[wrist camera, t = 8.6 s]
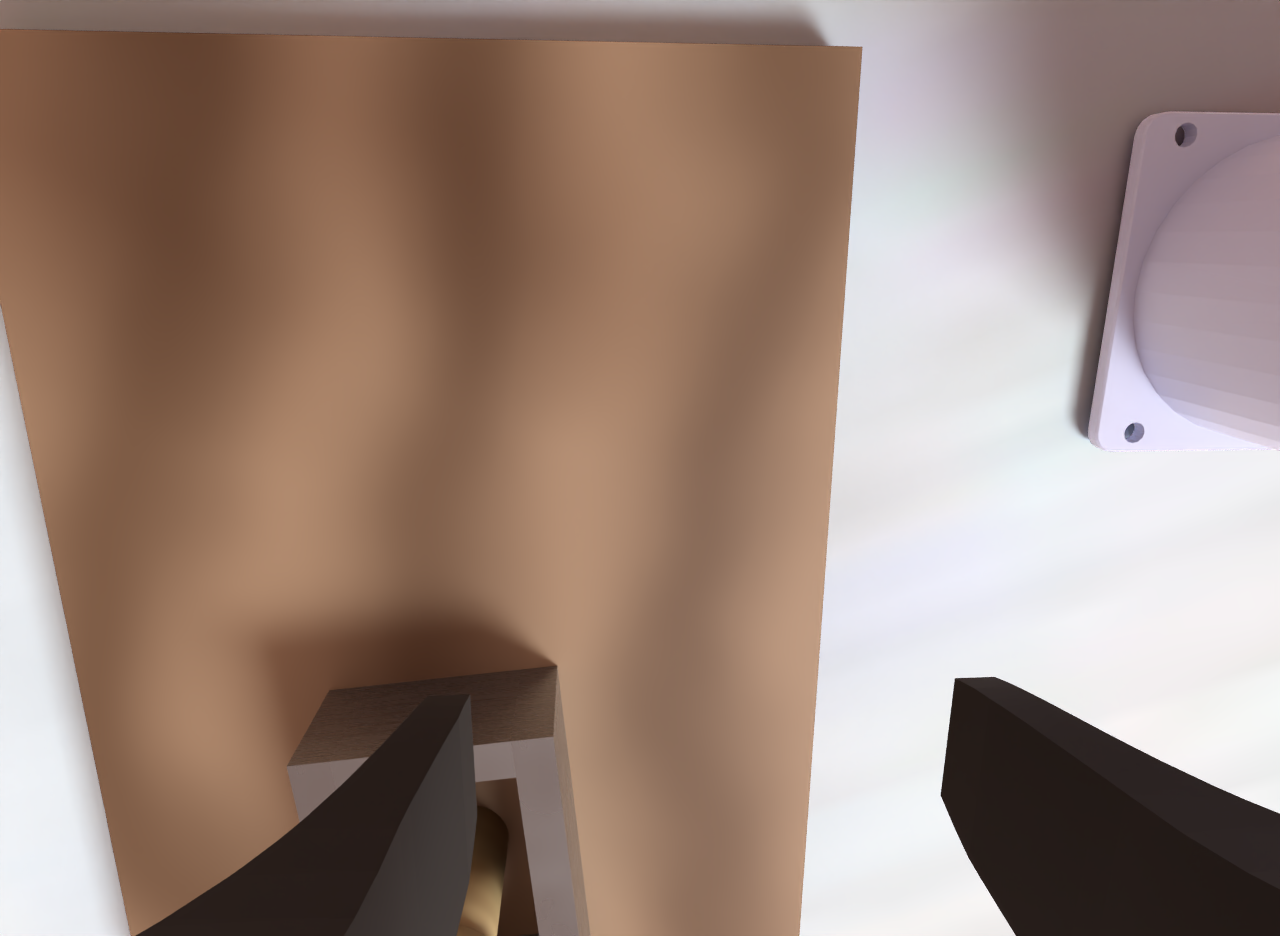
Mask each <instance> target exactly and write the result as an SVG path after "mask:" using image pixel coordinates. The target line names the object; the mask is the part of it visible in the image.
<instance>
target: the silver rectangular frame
mask: <svg viewBox="0 0 1280 936" xmlns="http://www.w3.org/2000/svg"><path fill="white" fill-rule="evenodd" d="M466 694H470V700H471V717H472V734H473V751H474V768H475V782H481V781H490V780H499V779H508V778H516V780H517V787H518V794H519V801H520V807H521V814H522V821H523V828H524V835H525V842H526V849H527V856H528V862H529V869H530V876H531V883H532V890H533V897H534V904H535V911H536V917H537V924H538V931H539V933H537V934H529V935H521V936H591V934H590V926H589V918H588V909H587V901H586V893H585V885H584V877H583V869H582V861H581V853H580V845H579V837H578V828H577V820H576V812H575V804H574V796H573V788H572V780H571V772H570V764H569V756H568V747H567V739H566V731H565V723H564V715H563V707H562V699H561V691H560V683H559V675H558V666H548V667H539V668H530V669H520V670H511V671H502V672H493V673H483V674H474V675H465V676H456V677H446V678H437V679H428V680H419V681H409V682H400V683H391V684H382V685H372V686H363V687H354V688H345V689H336V690H329V692H328V693H327V695H326V697H325V699H324V701H323V702H322V704H321V706H320V708H319V709H318V711H317V713H316V715H315V717H314V718H313V720H312V722H311V724H310V725H309V727H308V729H307V731H306V733H305V734H304V736H303V738H302V740H301V742H300V743H299V745H298V747H297V749H296V750H295V752H294V754H293V756H292V758H291V759H290V761H289V763H288V765H287V771H288V775H289V779H290V783H291V788H292V792H293V796H294V800H295V805H296V809H297V813H298V817H299V822H301V821H302V820H303V819H304V818H306V817H307V816H308V815H309V814H310V813H311V812H312V811H313V810H314V809H316V808H317V807H318V806H319V805H320V804H321V803H322V802H323V801H324V800H325V799H327V798H328V797H329V796H330V795H331V794H332V793H333V792H334V791H335V790H336V789H337V788H339V787H340V786H341V785H342V784H343V783H344V782H345V781H346V780H347V779H348V778H349V777H350V776H351V775H352V774H353V773H354V772H355V771H356V770H357V769H358V768H359V767H360V766H361V765H362V764H363V763H364V762H365V761H366V760H367V759H368V758H369V757H370V756H371V755H372V754H373V753H374V752H375V751H376V750H377V749H378V748H379V746H380V745H381V744H382V743H383V742H384V741H385V740H386V739H387V738H388V737H389V736H390V735H391V734H392V733H393V732H394V730H395V729H396V728H397V727H398V726H399V725H400V724H401V723H402V722H403V721H404V720H405V719H406V717H407V716H408V715H409V714H410V713H411V712H412V711H413V710H414V709H415V708H416V707H417V706H418V705H419V704H420V703H421V702H422V701H423V700H424V699H425V698H426V697H427V696H436V695H466Z"/></svg>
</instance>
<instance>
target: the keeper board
mask: <svg viewBox="0 0 1280 936" xmlns="http://www.w3.org/2000/svg"><path fill="white" fill-rule="evenodd" d="M861 59H862V47H848V46H799V45H751V44H702V43H653V42H604V41H556V40H507V39H458V38H410V37H361V36H312V35H264V34H215V33H166V32H117V31H69V30H20V29H0V303H1V308H2V313H3V318H4V323H5V328H6V332H7V337H8V342H9V347H10V352H11V357H12V362H13V366H14V371H15V376H16V381H17V386H18V391H19V396H20V400H21V405H22V410H23V415H24V420H25V425H26V430H27V434H28V439H29V444H30V449H31V454H32V459H33V464H34V468H35V473H36V478H37V483H38V488H39V493H40V498H41V502H42V507H43V512H44V517H45V522H46V527H47V531H48V536H49V541H50V546H51V551H52V556H53V561H54V565H55V570H56V575H57V580H58V585H59V590H60V595H61V599H62V604H63V609H64V614H65V619H66V624H67V629H68V633H69V638H70V643H71V648H72V653H73V658H74V663H75V667H76V672H77V677H78V682H79V687H80V692H81V697H82V701H83V706H84V711H85V716H86V721H87V726H88V731H89V735H90V740H91V745H92V750H93V755H94V760H95V764H96V769H97V774H98V779H99V784H100V789H101V794H102V798H103V803H104V808H105V813H106V818H107V823H108V828H109V832H110V837H111V842H112V847H113V852H114V857H115V862H116V866H117V871H118V876H119V881H120V886H121V891H122V896H123V900H124V905H125V910H126V915H127V920H128V925H129V930H130V934H131V936H136V935H137V934H139V933H141V932H143V931H144V930H146V929H148V928H149V927H151V926H153V925H155V924H156V923H158V922H160V921H161V920H163V919H164V918H166V917H167V916H169V915H171V914H172V913H174V912H175V911H177V910H178V909H180V908H181V907H183V906H184V905H186V904H187V903H189V902H191V901H192V900H194V899H195V898H197V897H198V896H200V895H201V894H203V893H204V892H206V891H207V890H209V889H211V888H212V887H214V886H215V885H217V884H218V883H220V882H221V881H223V880H224V879H226V878H227V877H229V876H230V875H232V874H233V873H235V872H236V871H237V870H239V869H240V868H242V867H243V866H244V865H246V864H247V863H248V862H250V861H251V860H252V859H254V858H255V857H256V856H258V855H259V854H260V853H262V852H263V851H264V850H266V849H267V848H268V847H270V846H271V845H272V844H274V843H275V842H276V841H278V840H279V839H280V838H281V837H283V836H284V835H285V834H286V833H288V832H289V831H290V830H291V829H293V828H294V827H295V826H296V825H297V824H298V823H300V822H299V817H298V813H297V809H296V805H295V800H294V796H293V792H292V788H291V783H290V779H289V775H288V771H287V765H288V763H289V761H290V759H291V758H292V756H293V754H294V752H295V750H296V749H297V747H298V745H299V743H300V742H301V740H302V738H303V736H304V734H305V733H306V731H307V729H308V727H309V725H310V724H311V722H312V720H313V718H314V717H315V715H316V713H317V711H318V709H319V708H320V706H321V704H322V702H323V701H324V699H325V697H326V695H327V693H328V692H329V690H336V689H345V688H354V687H363V686H372V685H382V684H391V683H400V682H409V681H419V680H428V679H437V678H446V677H456V676H465V675H474V674H483V673H493V672H502V671H511V670H520V669H530V668H539V667H548V666H558V675H559V683H560V691H561V699H562V707H563V715H564V723H565V731H566V739H567V747H568V756H569V764H570V772H571V780H572V788H573V796H574V804H575V812H576V820H577V828H578V837H579V845H580V853H581V861H582V869H583V877H584V885H585V893H586V901H587V909H588V918H589V926H590V934H591V936H799V932H800V918H801V904H802V890H803V876H804V862H805V848H806V834H807V819H808V805H809V791H810V777H811V763H812V749H813V735H814V721H815V707H816V693H817V679H818V664H819V650H820V636H821V622H822V608H823V594H824V580H825V566H826V552H827V538H828V524H829V509H830V495H831V481H832V467H833V453H834V439H835V425H836V411H837V397H838V383H839V369H840V354H841V340H842V326H843V312H844V298H845V284H846V270H847V256H848V242H849V228H850V214H851V199H852V185H853V171H854V157H855V143H856V129H857V115H858V101H859V87H860V73H861ZM475 784H476V801H477V822H476V831H475V840H474V848H473V856H472V864H471V872H470V880H469V885H468V890H467V894H466V898H465V902H464V907H463V911H462V915H461V919H460V923H459V927H458V932H457V936H521V935H529V934H537V933H539V931H538V924H537V917H536V911H535V904H534V897H533V890H532V883H531V876H530V869H529V862H528V856H527V849H526V842H525V835H524V828H523V821H522V814H521V807H520V801H519V794H518V787H517V780H516V778H508V779H499V780H490V781H481V782H475Z"/></svg>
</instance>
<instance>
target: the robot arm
mask: <svg viewBox="0 0 1280 936" xmlns="http://www.w3.org/2000/svg"><path fill="white" fill-rule="evenodd" d="M1180 126H1181V127H1182V128H1183V130H1184V131H1185V138H1184V141H1183V143H1182V144H1181V145H1180V146H1178V144H1177V143H1176V141H1175V134H1176V131H1177V129H1178V128H1179V127H1180ZM1132 423H1133V424H1134V431H1133V433H1132V435H1131V436H1130V437H1128V438H1126V439H1125V436H1124V432H1125V430H1126V428H1127V427H1128V426H1129V425H1130V424H1132ZM1088 438H1089V440H1090V442H1091V443H1092V444H1093V445H1094V446H1096V447H1097V448H1099V449H1102V450H1105V451H1110V452H1127V451H1198V450H1270V449H1275V450H1278V451H1280V113H1238V112H1173V111H1167V112H1162V113H1158V114H1153V115H1150V116H1148V117H1147V118H1145V119H1144V120H1143V121H1142V122H1141V123H1140V125H1139V126H1138V127H1137V130H1136V133H1135V136H1134V142H1133V149H1132V155H1131V161H1130V168H1129V174H1128V180H1127V187H1126V193H1125V199H1124V206H1123V212H1122V218H1121V225H1120V231H1119V237H1118V244H1117V250H1116V256H1115V263H1114V269H1113V275H1112V282H1111V288H1110V294H1109V301H1108V307H1107V313H1106V320H1105V326H1104V333H1103V339H1102V345H1101V352H1100V358H1099V364H1098V371H1097V377H1096V383H1095V390H1094V396H1093V402H1092V409H1091V415H1090V421H1089V428H1088ZM941 797H942V799H943V802H944V804H945V806H946V809H947V811H948V813H949V816H950V818H951V820H952V823H953V825H954V827H955V830H956V832H957V834H958V836H959V838H960V840H961V843H962V845H963V847H964V849H965V851H966V853H967V855H968V858H969V859H970V861H971V863H972V864H973V866H974V868H975V870H976V871H977V873H978V875H979V876H980V878H981V880H982V881H983V883H984V884H985V886H986V888H987V889H988V891H989V893H990V894H991V896H992V898H993V899H994V901H995V903H996V904H997V906H998V907H999V909H1000V911H1001V912H1002V914H1003V916H1004V917H1005V919H1006V920H1007V922H1008V924H1009V925H1010V927H1011V928H1012V930H1013V932H1014V933H1015V935H1016V936H1280V814H1279V813H1277V812H1274V811H1272V810H1269V809H1267V808H1264V807H1262V806H1259V805H1257V804H1254V803H1252V802H1250V801H1247V800H1245V799H1242V798H1240V797H1238V796H1235V795H1233V794H1231V793H1228V792H1226V791H1224V790H1222V789H1219V788H1217V787H1215V786H1213V785H1210V784H1208V783H1206V782H1204V781H1202V780H1200V779H1198V778H1196V777H1194V776H1191V775H1189V774H1187V773H1185V772H1183V771H1181V770H1179V769H1177V768H1175V767H1172V766H1170V765H1168V764H1166V763H1164V762H1162V761H1160V760H1158V759H1156V758H1154V757H1152V756H1150V755H1148V754H1146V753H1144V752H1142V751H1140V750H1138V749H1136V748H1134V747H1132V746H1130V745H1128V744H1126V743H1124V742H1122V741H1120V740H1119V739H1117V738H1115V737H1113V736H1111V735H1109V734H1107V733H1105V732H1103V731H1101V730H1099V729H1098V728H1096V727H1094V726H1092V725H1090V724H1088V723H1086V722H1084V721H1082V720H1081V719H1079V718H1077V717H1075V716H1073V715H1071V714H1069V713H1067V712H1065V711H1064V710H1062V709H1060V708H1058V707H1056V706H1054V705H1052V704H1050V703H1048V702H1047V701H1045V700H1043V699H1041V698H1039V697H1037V696H1035V695H1033V694H1031V693H1029V692H1027V691H1025V690H1023V689H1021V688H1019V687H1017V686H1015V685H1012V684H1010V683H1008V682H1006V681H1003V680H1001V679H998V678H996V677H981V678H955V683H954V691H953V699H952V707H951V715H950V724H949V732H948V740H947V748H946V756H945V764H944V773H943V781H942V789H941ZM476 822H477V801H476V784H475V768H474V751H473V734H472V717H471V700H470V694H466V695H436V696H427V697H426V698H425V699H424V700H423V701H422V702H421V703H420V704H419V705H418V706H417V707H416V708H415V709H414V710H413V711H412V712H411V713H410V714H409V715H408V716H407V717H406V719H405V720H404V721H403V722H402V723H401V724H400V725H399V726H398V727H397V728H396V729H395V730H394V732H393V733H392V734H391V735H390V736H389V737H388V738H387V739H386V740H385V741H384V742H383V743H382V744H381V745H380V746H379V748H378V749H377V750H376V751H375V752H374V753H373V754H372V755H371V756H370V757H369V758H368V759H367V760H366V761H365V762H364V763H363V764H362V765H361V766H360V767H359V768H358V769H357V770H356V771H355V772H354V773H353V774H352V775H351V776H350V777H349V778H348V779H347V780H346V781H345V782H344V783H343V784H342V785H341V786H340V787H339V788H337V789H336V790H335V791H334V792H333V793H332V794H331V795H330V796H329V797H328V798H327V799H325V800H324V801H323V802H322V803H321V804H320V805H319V806H318V807H317V808H316V809H314V810H313V811H312V812H311V813H310V814H309V815H308V816H307V817H306V818H304V819H303V820H302V821H301V822H300V823H298V824H297V825H296V826H295V827H294V828H293V829H291V830H290V831H289V832H288V833H286V834H285V835H284V836H283V837H281V838H280V839H279V840H278V841H276V842H275V843H274V844H272V845H271V846H270V847H268V848H267V849H266V850H264V851H263V852H262V853H260V854H259V855H258V856H256V857H255V858H254V859H252V860H251V861H250V862H248V863H247V864H246V865H244V866H243V867H242V868H240V869H239V870H237V871H236V872H235V873H233V874H232V875H230V876H229V877H227V878H226V879H224V880H223V881H221V882H220V883H218V884H217V885H215V886H214V887H212V888H211V889H209V890H207V891H206V892H204V893H203V894H201V895H200V896H198V897H197V898H195V899H194V900H192V901H191V902H189V903H187V904H186V905H184V906H183V907H181V908H180V909H178V910H177V911H175V912H174V913H172V914H171V915H169V916H167V917H166V918H164V919H163V920H161V921H160V922H158V923H156V924H155V925H153V926H151V927H149V928H148V929H146V930H144V931H143V932H141V933H139V934H137V935H136V936H457V932H458V927H459V923H460V919H461V915H462V911H463V907H464V902H465V898H466V894H467V890H468V885H469V880H470V872H471V864H472V856H473V848H474V840H475V831H476Z"/></svg>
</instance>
